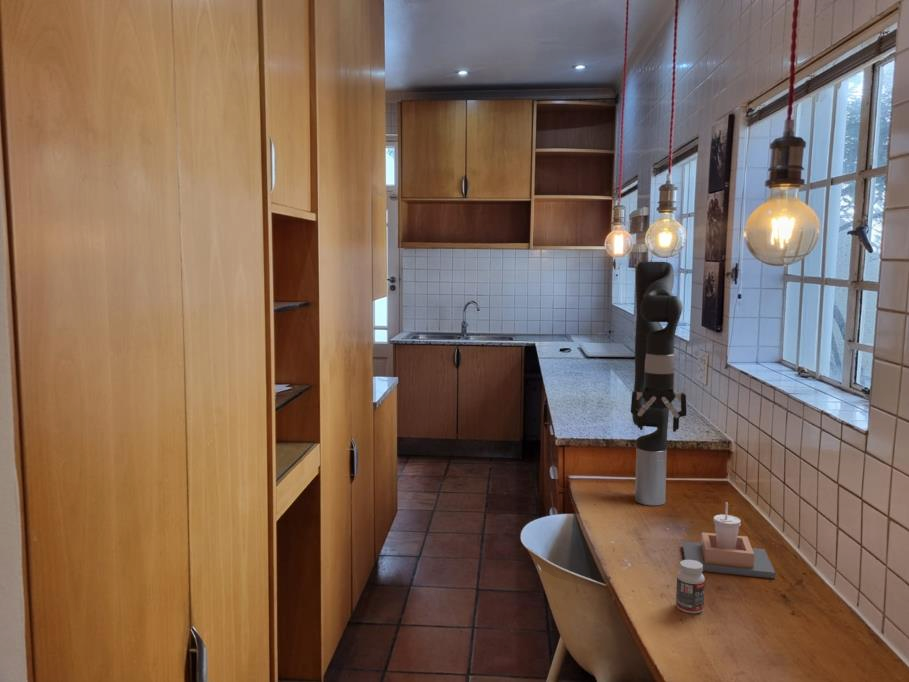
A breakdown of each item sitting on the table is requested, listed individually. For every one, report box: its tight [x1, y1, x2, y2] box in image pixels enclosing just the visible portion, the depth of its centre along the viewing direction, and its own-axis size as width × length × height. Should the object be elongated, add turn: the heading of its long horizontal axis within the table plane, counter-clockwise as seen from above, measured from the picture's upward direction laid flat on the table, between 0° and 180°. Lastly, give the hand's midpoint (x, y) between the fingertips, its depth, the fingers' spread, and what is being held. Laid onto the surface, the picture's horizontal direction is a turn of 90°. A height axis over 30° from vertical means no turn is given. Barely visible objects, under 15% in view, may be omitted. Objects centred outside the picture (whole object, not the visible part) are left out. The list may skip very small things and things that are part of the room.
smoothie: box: [712, 501, 742, 550], centre depth 169 cm, size 6×6×14 cm
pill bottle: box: [675, 559, 706, 614], centre depth 147 cm, size 6×6×10 cm
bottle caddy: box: [682, 532, 776, 580], centre depth 170 cm, size 14×20×5 cm
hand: (657, 430), depth 182 cm, fingers open, 8 cm apart
